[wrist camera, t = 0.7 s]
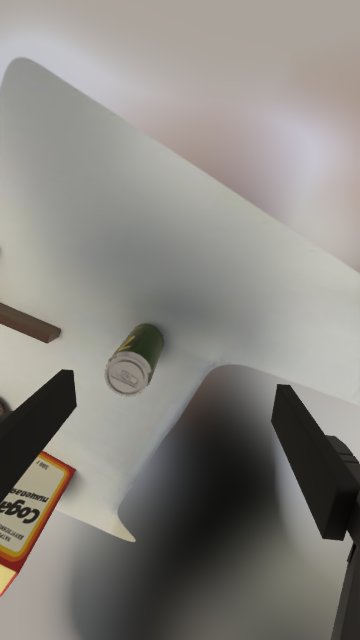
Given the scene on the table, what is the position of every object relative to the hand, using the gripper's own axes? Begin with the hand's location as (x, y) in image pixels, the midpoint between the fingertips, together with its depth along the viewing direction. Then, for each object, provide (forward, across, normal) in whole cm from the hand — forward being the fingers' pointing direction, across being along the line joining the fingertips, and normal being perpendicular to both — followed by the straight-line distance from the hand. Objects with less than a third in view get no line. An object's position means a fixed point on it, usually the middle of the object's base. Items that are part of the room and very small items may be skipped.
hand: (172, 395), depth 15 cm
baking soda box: (+22, -26, -33) cm, 48 cm away
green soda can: (+22, -6, -5) cm, 23 cm away
